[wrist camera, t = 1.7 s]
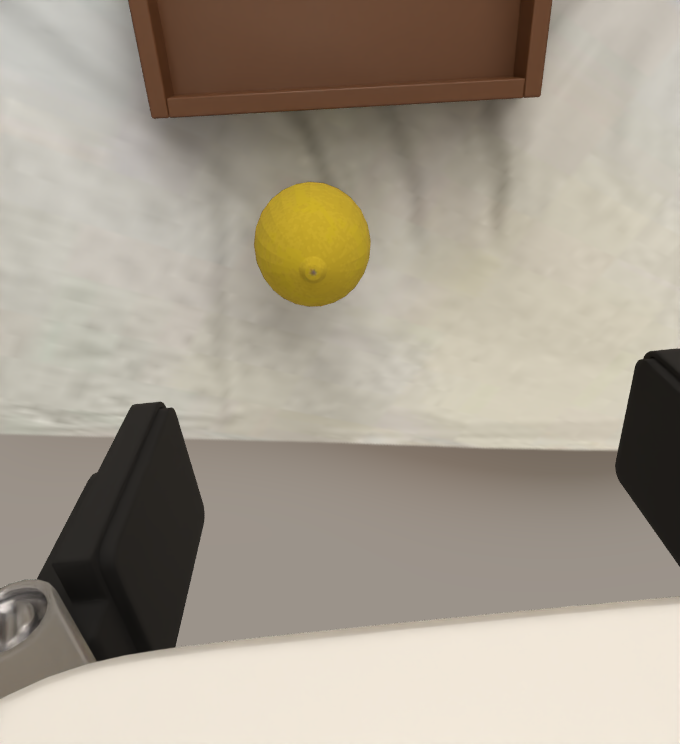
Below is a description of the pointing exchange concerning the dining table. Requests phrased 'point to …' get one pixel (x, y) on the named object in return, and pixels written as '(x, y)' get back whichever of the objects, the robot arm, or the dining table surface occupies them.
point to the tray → (335, 53)
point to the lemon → (312, 244)
